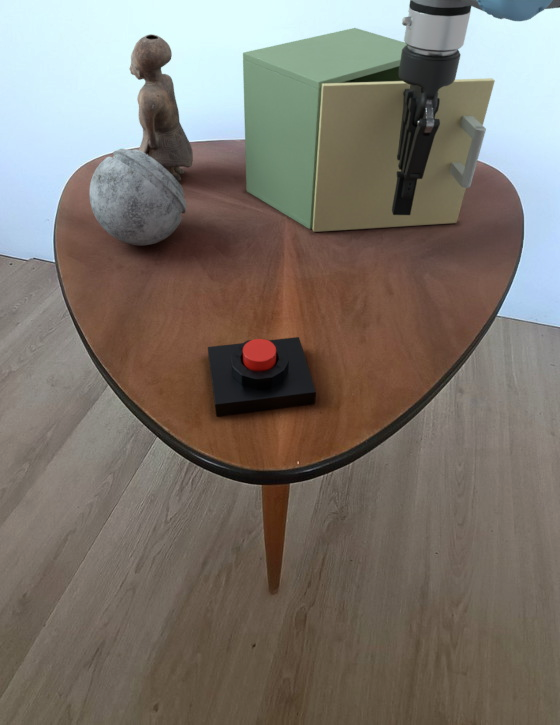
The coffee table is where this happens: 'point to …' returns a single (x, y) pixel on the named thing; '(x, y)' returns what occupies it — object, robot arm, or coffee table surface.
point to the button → (259, 355)
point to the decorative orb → (136, 198)
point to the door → (393, 154)
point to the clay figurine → (159, 107)
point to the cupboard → (301, 109)
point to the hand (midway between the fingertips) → (400, 212)
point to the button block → (260, 379)
